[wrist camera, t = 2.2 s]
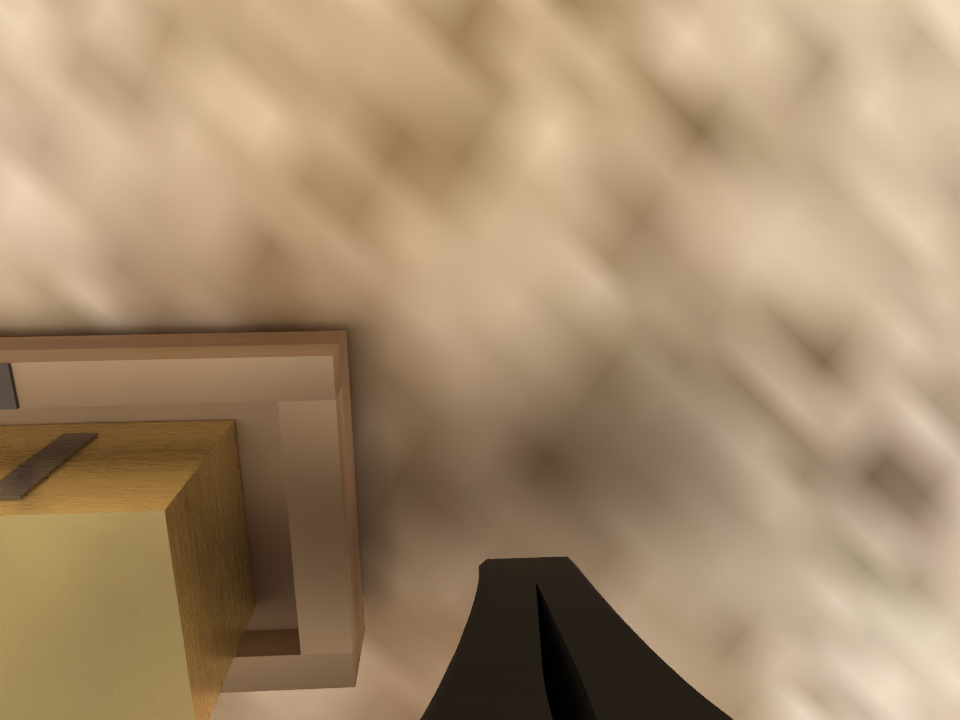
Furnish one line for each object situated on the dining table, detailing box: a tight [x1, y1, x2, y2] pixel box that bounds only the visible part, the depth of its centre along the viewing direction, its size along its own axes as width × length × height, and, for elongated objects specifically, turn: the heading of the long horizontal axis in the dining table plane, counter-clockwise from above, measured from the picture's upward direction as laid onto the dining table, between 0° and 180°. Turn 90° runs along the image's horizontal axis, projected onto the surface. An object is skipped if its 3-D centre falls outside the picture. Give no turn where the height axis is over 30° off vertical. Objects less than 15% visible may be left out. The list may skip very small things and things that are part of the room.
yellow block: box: [0, 420, 255, 720], centre depth 12 cm, size 4×5×4 cm
